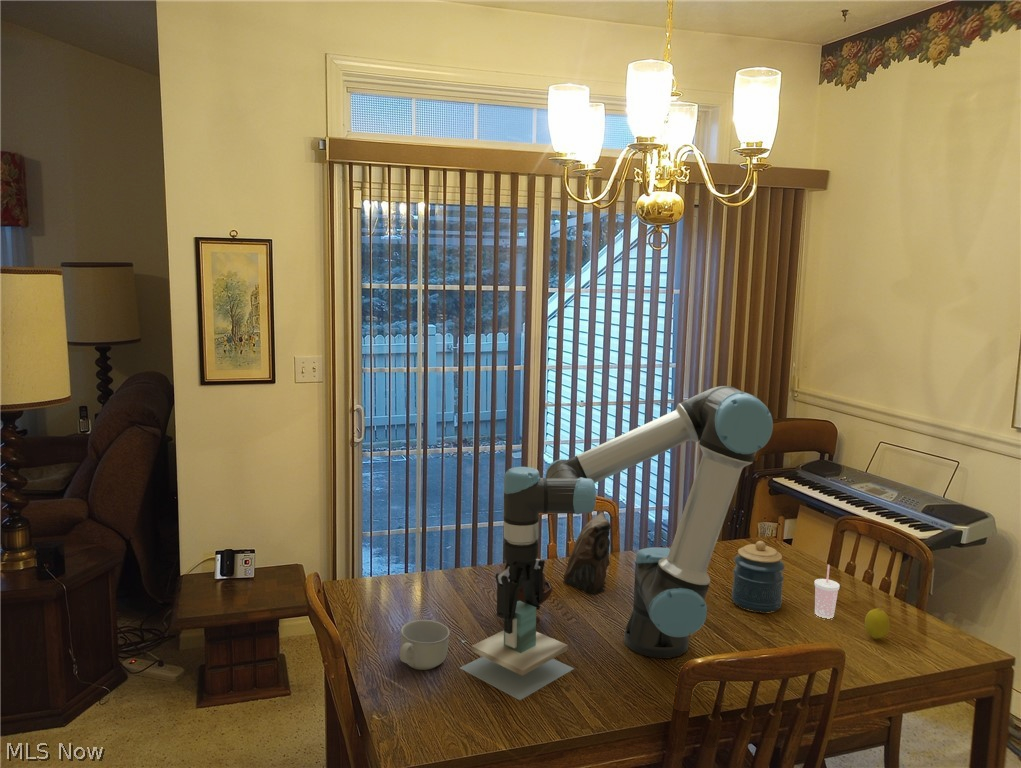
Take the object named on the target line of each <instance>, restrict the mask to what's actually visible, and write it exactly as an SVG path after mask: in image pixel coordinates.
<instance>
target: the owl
mask: <svg viewBox="0 0 1021 768" xmlns="http://www.w3.org/2000/svg"><path fill="white" fill-rule="evenodd" d="M611 528H612V526H611V523H610V521H609V519H608V518H606V515H605V513H604V512H603V511H601V512H600V513H599V514H597V515H596V516H594V517H593V518H591V519H590V520H589V521H588V522H587V523H586V524H585V525H584V526H583V528H582V529H581V531H580V533H579V535H578V537H577V538H576V539H575V543H574V547H573V548H572V551H571V553H570V555H569V558H568V562H567V566H566V569H565V572H564V574H563V581H562V583H563V584H565V585H568V586H571V587H572V588H575V589H576V590H578V591H582V592H584V593H586V594H588V595H592V596H593V595H594V596H595V595H599V594H601V593H604V592H605V588H606V586H605V585H606V584H607V583H606V577H607V569H608V567H609V566H610V563H611V561H610V545H611V541H610V538H609V536H610V530H611Z"/></svg>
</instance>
